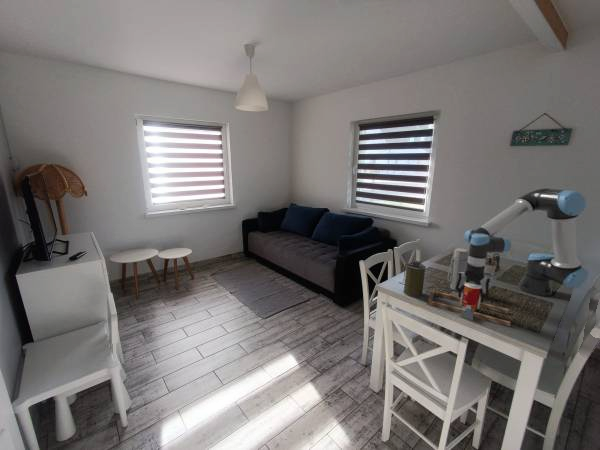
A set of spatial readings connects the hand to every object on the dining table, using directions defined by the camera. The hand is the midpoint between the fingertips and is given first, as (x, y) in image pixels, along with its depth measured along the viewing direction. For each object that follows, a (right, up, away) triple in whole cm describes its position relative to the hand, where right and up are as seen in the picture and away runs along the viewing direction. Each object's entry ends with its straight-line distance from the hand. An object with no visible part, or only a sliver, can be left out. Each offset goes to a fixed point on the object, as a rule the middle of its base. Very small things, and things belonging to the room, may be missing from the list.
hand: (469, 305), depth 139 cm
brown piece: (0, -2, +1) cm, 2 cm away
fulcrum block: (-6, -4, -7) cm, 10 cm away
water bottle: (+6, +3, +23) cm, 24 cm away
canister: (-23, +2, +17) cm, 28 cm away
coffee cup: (0, -2, +1) cm, 2 cm away
